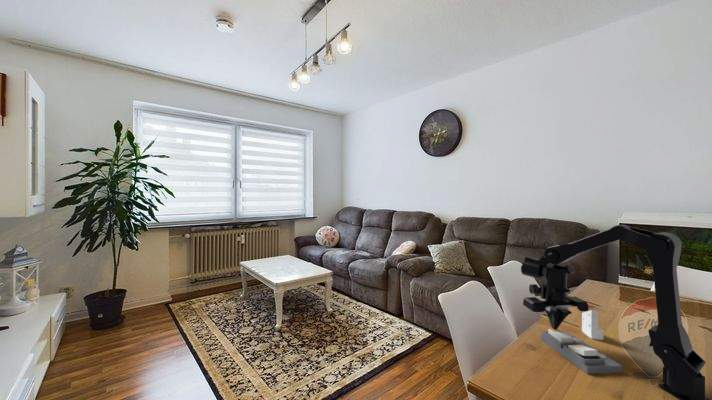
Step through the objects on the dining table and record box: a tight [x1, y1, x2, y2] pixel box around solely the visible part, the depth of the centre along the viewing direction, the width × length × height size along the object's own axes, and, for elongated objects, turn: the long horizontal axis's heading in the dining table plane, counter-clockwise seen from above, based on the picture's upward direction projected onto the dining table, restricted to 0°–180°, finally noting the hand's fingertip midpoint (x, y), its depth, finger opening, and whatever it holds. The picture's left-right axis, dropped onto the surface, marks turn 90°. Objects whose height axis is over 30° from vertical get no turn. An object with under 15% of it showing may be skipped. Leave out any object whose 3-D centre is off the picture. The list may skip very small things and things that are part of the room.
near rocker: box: [568, 345, 598, 356], centre depth 86 cm, size 6×4×2 cm, turn 2°
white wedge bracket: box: [581, 309, 605, 341], centre depth 102 cm, size 4×10×9 cm, turn 168°
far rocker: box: [547, 328, 574, 343], centre depth 95 cm, size 6×4×2 cm, turn 2°
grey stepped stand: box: [540, 330, 623, 375], centre depth 90 cm, size 19×10×3 cm, turn 2°
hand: (554, 328), depth 97 cm, fingers closed, pressing on far rocker
